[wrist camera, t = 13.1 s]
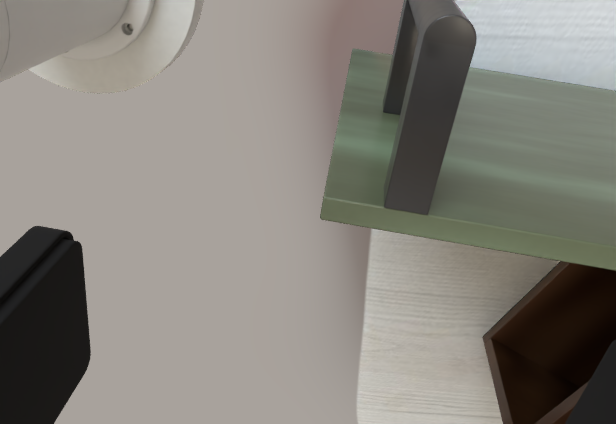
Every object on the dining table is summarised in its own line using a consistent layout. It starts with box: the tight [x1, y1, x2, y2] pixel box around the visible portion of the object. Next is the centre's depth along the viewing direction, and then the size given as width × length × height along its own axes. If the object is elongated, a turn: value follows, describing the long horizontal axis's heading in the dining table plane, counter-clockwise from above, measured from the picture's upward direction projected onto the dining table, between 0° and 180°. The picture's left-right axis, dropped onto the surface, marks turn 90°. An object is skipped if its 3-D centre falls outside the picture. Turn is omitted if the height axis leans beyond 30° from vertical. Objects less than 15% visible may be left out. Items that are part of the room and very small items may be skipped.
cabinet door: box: [320, 0, 616, 271], centre depth 28 cm, size 8×26×24 cm, turn 83°
